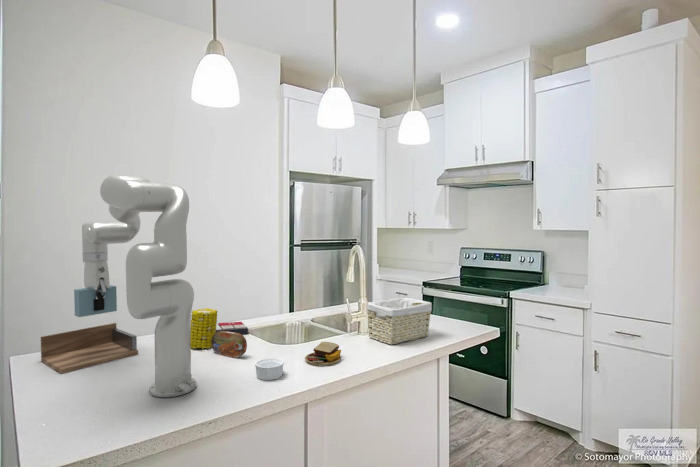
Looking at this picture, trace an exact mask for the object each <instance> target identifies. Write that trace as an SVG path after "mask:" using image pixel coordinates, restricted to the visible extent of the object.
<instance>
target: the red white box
mask: <svg viewBox="0 0 700 467" xmlns="http://www.w3.org/2000/svg"><path fill="white" fill-rule="evenodd" d="M220 331H228V332H234V333H240V334H242V335H243V336H246V335H249V328H248V326H246V325H245V324H244V322H242V321H231V322H218V323H217V324H216V332H220Z"/></svg>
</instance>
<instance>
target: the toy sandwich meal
mask: <svg viewBox="0 0 700 467" xmlns="http://www.w3.org/2000/svg"><path fill="white" fill-rule="evenodd" d="M339 348H340V345H339V344H338V343H335V342H331V341H321V342H320V343H319V344H317V346H315V347H314V348H313V352H310V353H308V354H307V355H305V357H304V360H305V361H306V362H307V363H308V364H309V363H310V364H309V365H312V364H313V365H312V366H317V365H328V366H332V365H331V364H333V365H335V363H336V364H337V363H339V361H340V360H341V359H342V357H341V353H342V349H339Z"/></svg>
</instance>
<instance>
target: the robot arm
mask: <svg viewBox="0 0 700 467" xmlns="http://www.w3.org/2000/svg"><path fill="white" fill-rule="evenodd" d="M99 193H100V197H101V199H102V200H103V202H104V203H106V204H107V205H108V211H109V214H110V215H111V217H112V218H113V219H115V220H116V221H96V222H95V221H91V222H90V221H89V222H84V223H83V224H82V227H81V239H82V242H81V244H82V249H81V250H82V263H84V267H83V268H84V269H83V284H84V288H89V289H92V290H93V291H94V295H95V299H94V311H99V310H104V298H105V293H106V289H109V288H110V285H111V284H110V273H109V266H108V260H109V258H108V257H109V256H108V255H109V254H108V252H109V251H108V250H109V249H108V245H109V244H110V245H112V244H126V243H129V242H130V241H132V240H133V239H134V238H135V237H136V235H138V233H139V232H140V229H141V218H140V213H160V212H161V214H160V215H159V216H158V218H157V219H156V221H155V222H154V226H153V238H154V239H153V242H142V243H141V242H140V243H137V244H135V245H134V244H133V245H132V246H131V247H130V248H129V250H128V252H127V253H126V254H127V255H126V258H125V289H126V290H125V292H126V306H127V310H128V312H129V314H130V316H131V317H132V318H134V319H136V320H146V319H151V318H155V317H159V318H158V320H157V322H156V324H155V328H154V377H155V378H154V383H152V384H151V385H150V386H149V390H148V391H149V392H148V393H149V394H150V395H151V396H152V397H156V398H174V397H178V396H183V395H186V394H189V393H190V392H192V391H194V390H195V388H196V387H197V384H198V382H197V379H195V378H193V377H192V364H191V363H192V361H191V360H192V358H191V357H192V355H191V354H192V352H191V351H192V350H191V349H192V348H191V337H190V334H191V320H192V319H191V318H192V316H191V315H192V311H193V306H194V299H195V291H194V290H195V289H194V288H193V286H192V284H191V283H190V282H189V281H187V280H185V279H182V278H181V279H180V278H174V279H166V280H165V279H164V280H158V281H152V279H153V278H159V277H166V276H174V275H177V274H181V273H183V272H184V271H185V270H186V268H187V266H188V265H187V263H188V241H187V236H188V235H187V224H188V223H187V222H188V217H189V212H190V199H189V196H188V193H187V192H186V190H185V189H184V188H183V187H181V186H180V185H176V184H173V183H167V182H166V183H165V182H154V181H153V182H151V180H149V179H147V178H145V177H141V176H134V175H133V176H131V175H120V174H118V175H117V174H113V175H112V174H111V175H109V176H106V177H105V178H104V179H103V181H102V182H101V185H100V189H99ZM97 288H100V290H97ZM97 292H99V293H98V295H97Z"/></svg>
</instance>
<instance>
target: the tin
mask: <svg viewBox="0 0 700 467" xmlns="http://www.w3.org/2000/svg"><path fill="white" fill-rule="evenodd" d="M247 342H248V341H247V338H246V337H245V335H242V334H240V333H234V332H228V331H220V332H216V333H215V334H214V335H213V337H212V340H211V345H212V347H211V348H212V350H213V352H214V353H215V354H217V355H219V356H223V357H228V358H233V359H236V358H239V357H241V356H243V355H244V354H246V351H247V349H248V348H247V347H248V343H247Z"/></svg>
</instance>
